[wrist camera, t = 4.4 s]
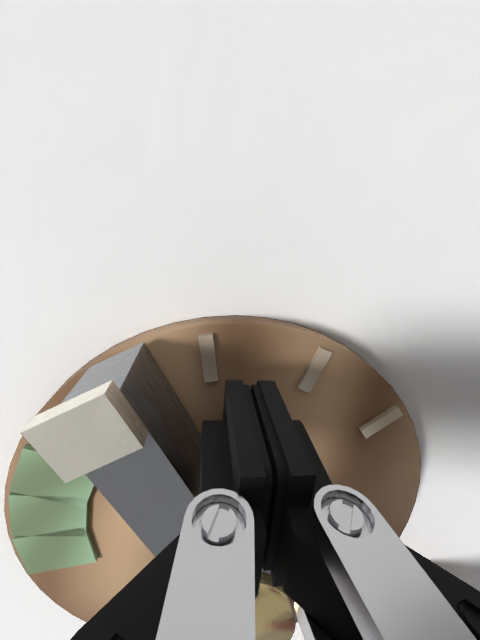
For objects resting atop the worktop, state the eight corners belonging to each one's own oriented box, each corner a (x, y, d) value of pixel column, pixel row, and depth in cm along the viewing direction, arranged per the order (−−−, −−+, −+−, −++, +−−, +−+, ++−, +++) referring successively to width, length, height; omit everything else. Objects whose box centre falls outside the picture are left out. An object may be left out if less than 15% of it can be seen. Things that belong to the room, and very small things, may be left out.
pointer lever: (301, 534, 14) (336, 642, 10) (203, 578, 14) (203, 699, 10) (180, 313, 10) (168, 364, 6) (45, 377, 10) (-42, 462, 6)
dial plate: (426, 291, 12) (449, 298, 11) (391, 584, 18) (404, 609, 17) (-51, 346, 10) (-82, 361, 9) (80, 648, 16) (70, 681, 15)
